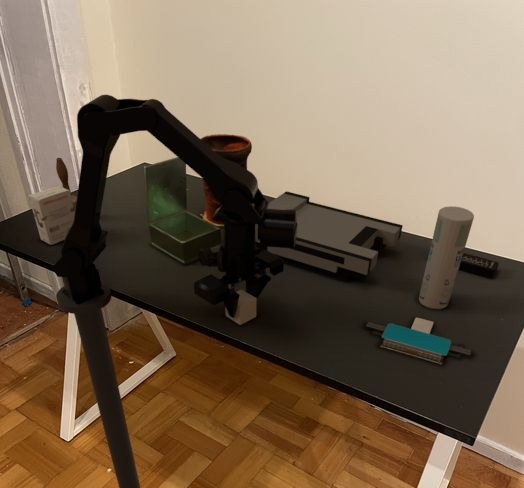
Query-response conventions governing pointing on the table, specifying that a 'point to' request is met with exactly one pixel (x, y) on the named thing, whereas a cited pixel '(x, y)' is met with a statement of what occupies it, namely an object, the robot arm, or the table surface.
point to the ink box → (53, 213)
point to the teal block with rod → (417, 341)
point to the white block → (244, 308)
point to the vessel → (231, 150)
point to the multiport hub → (478, 265)
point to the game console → (332, 238)
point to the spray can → (445, 256)
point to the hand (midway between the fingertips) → (240, 312)
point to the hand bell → (64, 177)
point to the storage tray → (184, 236)
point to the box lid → (165, 188)
